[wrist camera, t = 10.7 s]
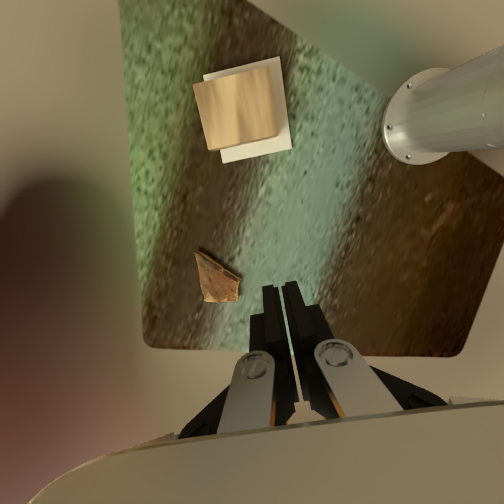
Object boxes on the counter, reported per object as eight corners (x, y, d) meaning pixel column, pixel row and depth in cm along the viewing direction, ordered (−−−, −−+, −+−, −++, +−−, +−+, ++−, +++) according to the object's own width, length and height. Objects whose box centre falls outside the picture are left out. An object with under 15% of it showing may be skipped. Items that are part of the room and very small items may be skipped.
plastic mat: (279, 57, 34) (279, 56, 33) (291, 148, 38) (291, 148, 37) (203, 76, 35) (203, 75, 34) (223, 163, 39) (223, 163, 38)
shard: (196, 247, 44) (194, 250, 42) (237, 244, 44) (237, 247, 42) (205, 298, 48) (203, 303, 46) (243, 296, 48) (243, 301, 46)
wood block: (199, 93, 35) (267, 76, 34) (213, 151, 38) (276, 137, 37) (192, 84, 31) (268, 65, 31) (208, 149, 34) (278, 134, 33)
